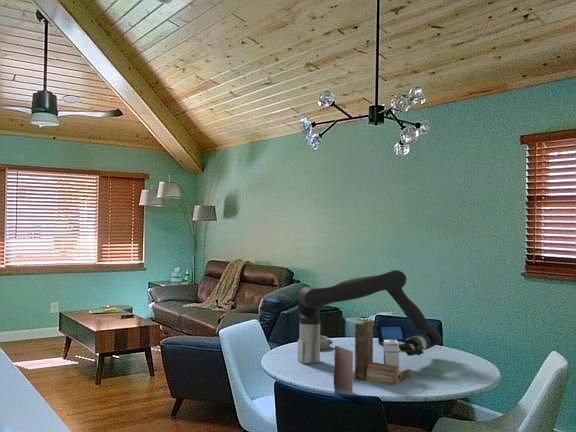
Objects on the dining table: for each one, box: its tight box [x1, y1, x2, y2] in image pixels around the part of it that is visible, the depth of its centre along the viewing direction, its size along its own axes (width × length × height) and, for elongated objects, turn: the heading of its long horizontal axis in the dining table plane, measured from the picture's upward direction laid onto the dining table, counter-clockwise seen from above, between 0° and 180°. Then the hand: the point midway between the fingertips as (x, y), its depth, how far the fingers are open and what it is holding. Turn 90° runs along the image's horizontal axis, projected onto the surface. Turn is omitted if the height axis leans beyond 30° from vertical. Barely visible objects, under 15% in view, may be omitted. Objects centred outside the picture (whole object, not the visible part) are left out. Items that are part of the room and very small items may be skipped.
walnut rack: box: [354, 319, 412, 383], centre depth 218 cm, size 18×16×22 cm
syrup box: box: [383, 340, 400, 371], centre depth 220 cm, size 6×6×14 cm
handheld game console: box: [375, 324, 407, 347], centre depth 280 cm, size 16×13×9 cm
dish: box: [320, 335, 334, 350], centre depth 272 cm, size 14×14×5 cm
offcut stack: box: [365, 361, 401, 386], centre depth 214 cm, size 6×12×6 cm, turn 53°
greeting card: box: [332, 345, 354, 394], centre depth 202 cm, size 11×7×15 cm, turn 175°
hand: (398, 351), depth 225 cm, fingers open, 8 cm apart
